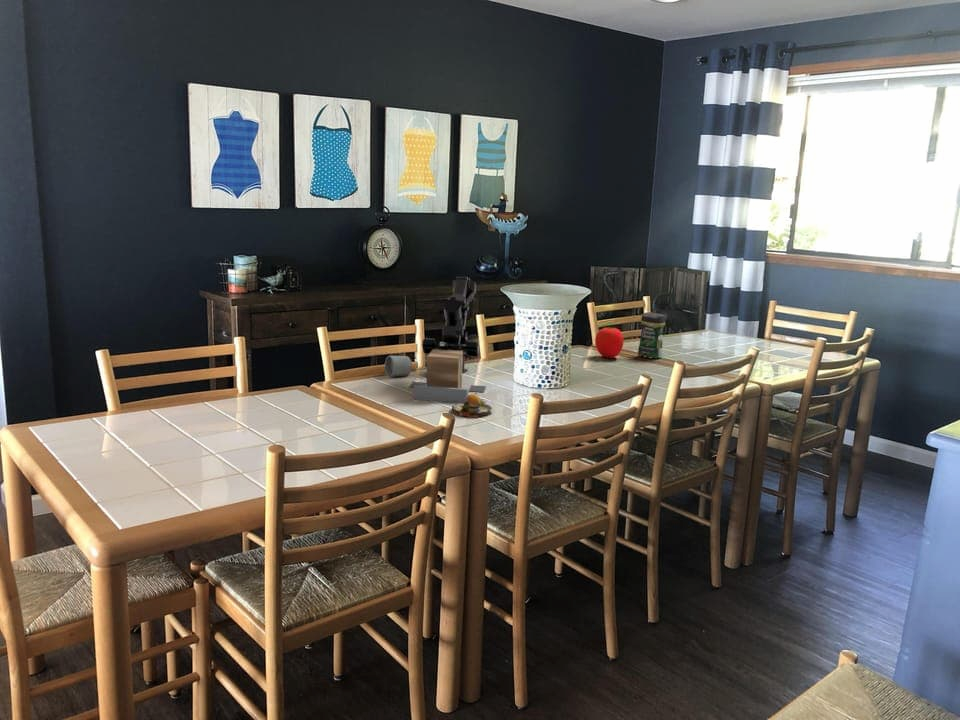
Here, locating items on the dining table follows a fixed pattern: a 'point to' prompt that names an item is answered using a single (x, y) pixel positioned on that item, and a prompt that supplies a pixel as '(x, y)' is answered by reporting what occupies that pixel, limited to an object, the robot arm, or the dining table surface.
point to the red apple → (609, 342)
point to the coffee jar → (651, 335)
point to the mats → (472, 389)
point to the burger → (472, 407)
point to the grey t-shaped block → (440, 393)
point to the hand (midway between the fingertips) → (447, 368)
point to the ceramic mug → (398, 366)
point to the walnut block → (444, 368)
